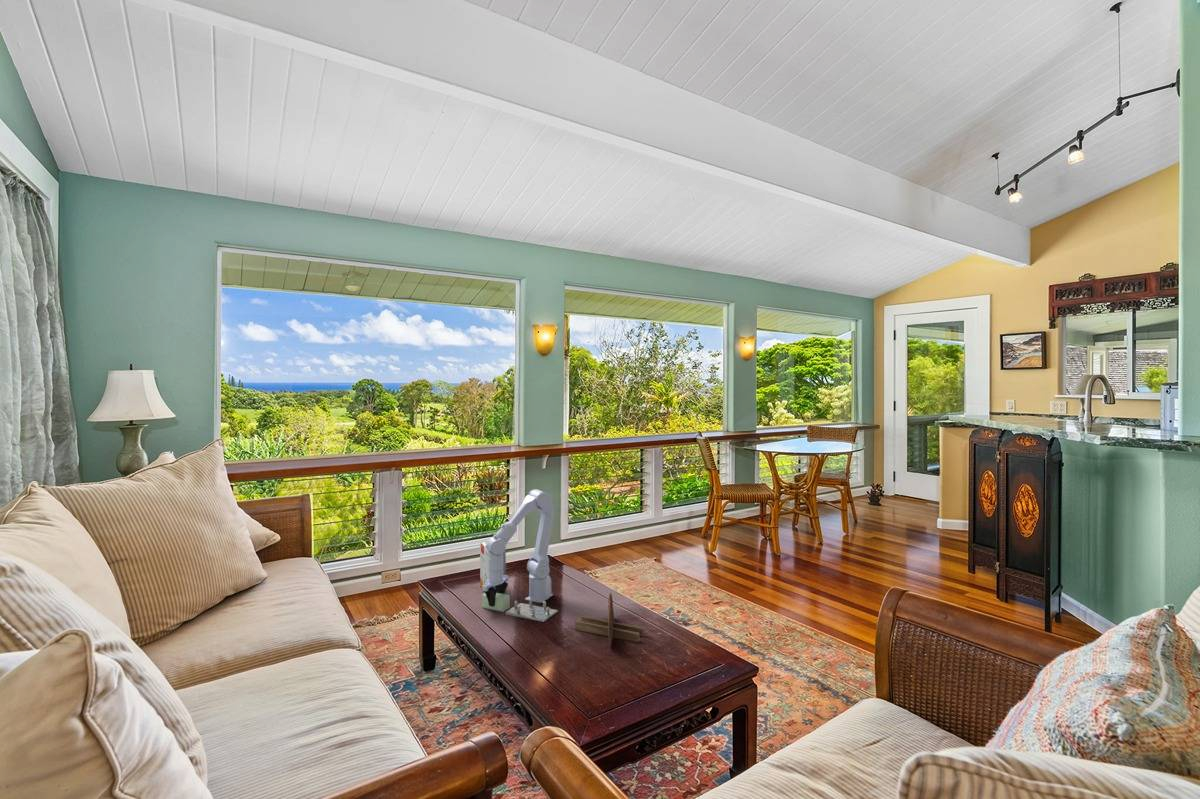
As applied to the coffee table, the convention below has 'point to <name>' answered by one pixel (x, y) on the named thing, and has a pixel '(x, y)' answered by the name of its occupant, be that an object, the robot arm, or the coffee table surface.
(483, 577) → the hard drive box
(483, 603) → the pale green block
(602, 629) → the tablet cradle
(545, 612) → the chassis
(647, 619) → the coffee table surface
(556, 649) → the coffee table surface
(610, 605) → the wooden tablet
